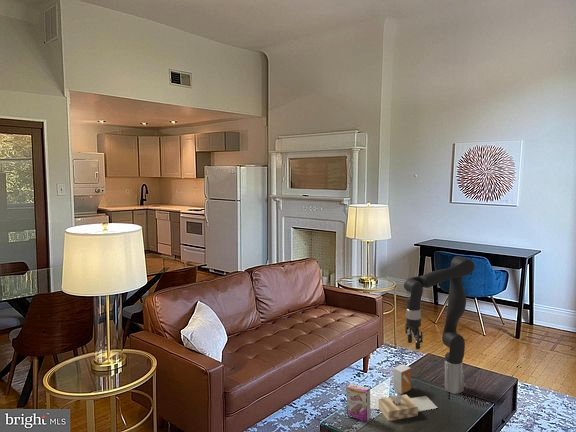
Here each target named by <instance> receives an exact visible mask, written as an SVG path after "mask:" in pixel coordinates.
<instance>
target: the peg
mask: <svg viewBox="0 0 576 432" xmlns="http://www.w3.org/2000/svg"><path fill="white" fill-rule="evenodd" d="M401 395H402V394H401V393H399V392H397V391H395V392H394V396H395V406H398V405H401Z"/></svg>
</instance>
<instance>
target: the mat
mask: <svg viewBox="0 0 576 432" xmlns="http://www.w3.org/2000/svg"><path fill="white" fill-rule="evenodd" d="M409 398H410V399H411V400H412V401H413V402H414V403H415V404H416V405H417V406H418V413H420V412H421V413H422V412H427V411H432V410H437V409H436V408H438V406H437V405H436V404H435V403H434V402H433V401H432V400H431V399H430V398H429V397H428V396H427V395H423V396H417V397H409ZM431 409H432V410H431ZM438 409H439V408H438ZM426 410H427V411H426Z"/></svg>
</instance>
